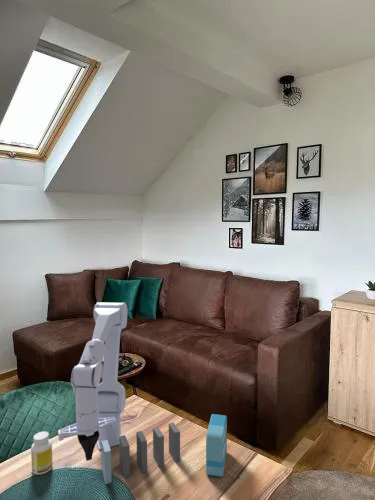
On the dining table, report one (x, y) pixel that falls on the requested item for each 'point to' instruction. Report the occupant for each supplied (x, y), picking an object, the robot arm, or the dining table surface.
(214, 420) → the data package
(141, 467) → the domino
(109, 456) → the slate domino
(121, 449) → the domino
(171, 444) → the domino
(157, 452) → the domino
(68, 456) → the dining table surface
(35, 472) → the supplement bottle
